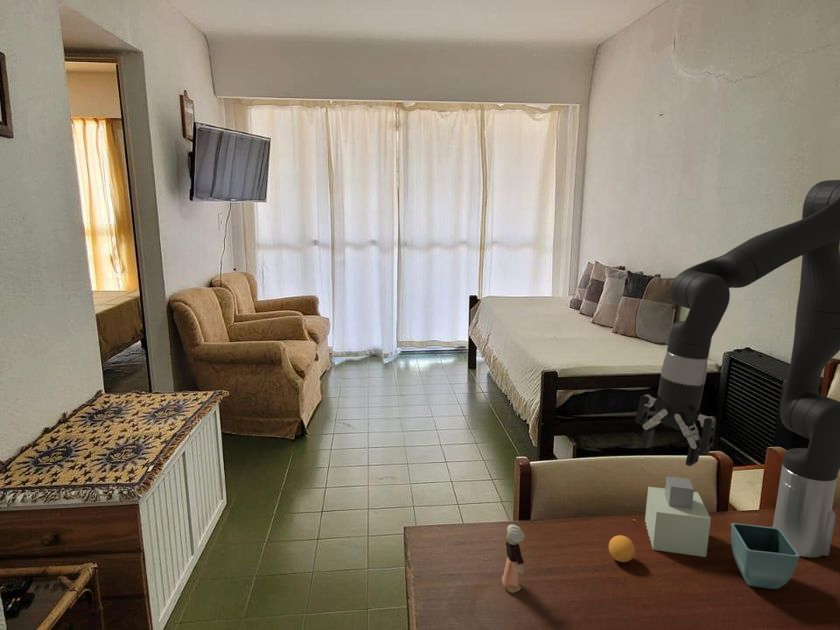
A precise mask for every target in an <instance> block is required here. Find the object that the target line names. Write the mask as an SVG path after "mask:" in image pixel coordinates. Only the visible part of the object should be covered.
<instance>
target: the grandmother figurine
mask: <svg viewBox="0 0 840 630" xmlns="http://www.w3.org/2000/svg"><path fill="white" fill-rule="evenodd" d="M506 532H507V533H506V537H505V538H506V542H505V548H504V549H505V551H506V555H507V557H506V559H505V560H506V561H505V566H504V571H503V575H502V576H501V579H500V580H501V582H502V585H503V586H504V587H505V588H506V590H507V591H508V593H512V594H514V593H517V592H519V591H521V590H522V587H521V585H520V581H519V578H520V577H519V574H520V575H523V574H524V573H525V569H524V567H525V566H524V564H525V560H524V559H523V556H522V551H521V547H520V542H523V540H524V539H525V534H524V531H523V530H522V529H521V528H520V526H518V525H515V524H509V525H507V527H506Z"/></svg>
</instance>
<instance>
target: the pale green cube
mask: <svg viewBox="0 0 840 630" xmlns="http://www.w3.org/2000/svg"><path fill="white" fill-rule="evenodd" d="M711 520H712V518H711V515H710V514H709V512H708V510H707V508H706V506H705V504H704V502H703V500H702V498H701V495H700V494H699V492H698V491H695V489H694V487H693V485H692V482H691V480H690V478H685V477H678V476H666V480H665V487H653V486H648V487H647V496H646V505H645V518H644V523H645V522H646V524H645V526H647V527H646V530H648V531H647V534H648V538H649V537H650V538H649V541H651V542H650V544H651V545H650V546H651V547H652V548H651V549H652V551H653V550H654V551H660V552H665V553H666V552H667V553H673V554H674V553H675V554H682V555H689V556H696V557H702V558H706V557H707V553H708V545H709V536H710V529H711Z"/></svg>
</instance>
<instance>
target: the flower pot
mask: <svg viewBox="0 0 840 630" xmlns="http://www.w3.org/2000/svg"><path fill="white" fill-rule="evenodd" d="M730 527H731V528H730V530H731V531H730V537H731V540H730V541H731V542H730V544H731V550H732V556H733V558H734V561H735V564H736V566H737V568H738V570H739V572H740V574H741V576H742V577H743V579H744V581H745V583H746V585H748V586H750V587H756V588H764V589H770V590H777V589H780V588H781V587H783V586H785V585H786V584H787V583H788V582H789V581H790V580H791V578H792V576H793V575H794V572H795V570H796V568H797V565H798V562H799V559H800V557H801V556H800V555H799V554H798V553H797V551H796V550H795V549H794V547H793V546H792V545H791V543H790V542H789V540H788V539H787V538H786V536H785V535H784V534H783V532H782V531H781V530H780V529H779V528H774V527H773V526H761V525H754V524H746V523H737V522H733V523H731V522H730Z"/></svg>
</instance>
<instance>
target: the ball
mask: <svg viewBox="0 0 840 630" xmlns="http://www.w3.org/2000/svg"><path fill="white" fill-rule="evenodd" d="M608 551H609V553H610V556H611V557H612V558H613V559H614V560H616V561H617V562H620V563H627V562H630V561H631V560H632V559H634V558H635V557H634V556H635V554H636V549H635V544H634V542H633V541H632V540H631V539H630V538H629V537H628V536H625V535H622V534H621V535H619V534H618V535H615V536H613V537H612V538H611V539H610V540H609V543H608Z"/></svg>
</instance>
